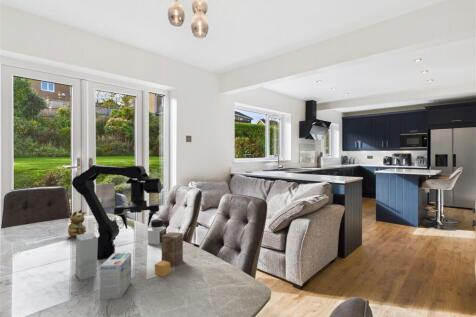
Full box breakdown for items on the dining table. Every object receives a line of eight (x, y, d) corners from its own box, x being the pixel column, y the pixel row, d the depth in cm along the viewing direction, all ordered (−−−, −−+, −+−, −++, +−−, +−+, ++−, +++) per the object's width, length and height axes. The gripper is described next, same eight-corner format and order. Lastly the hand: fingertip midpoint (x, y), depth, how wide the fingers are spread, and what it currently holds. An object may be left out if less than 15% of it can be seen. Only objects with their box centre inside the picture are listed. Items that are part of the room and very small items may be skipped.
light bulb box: (112, 283, 91) (112, 252, 91) (132, 282, 92) (131, 252, 92) (98, 299, 81) (98, 265, 81) (120, 298, 81) (120, 264, 81)
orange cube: (154, 274, 98) (154, 264, 98) (162, 270, 102) (162, 260, 102) (162, 276, 96) (162, 266, 96) (170, 272, 100) (170, 262, 100)
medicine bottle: (159, 245, 132) (159, 221, 132) (147, 244, 133) (147, 221, 133) (166, 240, 139) (166, 218, 139) (154, 239, 140) (154, 217, 140)
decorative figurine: (77, 238, 142) (77, 211, 142) (63, 238, 143) (63, 211, 143) (88, 233, 152) (88, 208, 152) (74, 233, 152) (74, 208, 152)
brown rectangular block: (161, 265, 106) (161, 236, 107) (169, 259, 113) (169, 232, 113) (176, 266, 105) (175, 237, 105) (182, 260, 111) (182, 233, 111)
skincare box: (74, 273, 99) (74, 235, 99) (92, 268, 103) (92, 231, 103) (80, 280, 93) (80, 239, 93) (98, 275, 97) (98, 236, 97)
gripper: (111, 196, 106) (111, 234, 106) (158, 194, 111) (158, 230, 111) (116, 193, 117) (116, 227, 117) (159, 191, 122) (159, 224, 122)
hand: (137, 227), depth 116 cm, fingers open, 9 cm apart
